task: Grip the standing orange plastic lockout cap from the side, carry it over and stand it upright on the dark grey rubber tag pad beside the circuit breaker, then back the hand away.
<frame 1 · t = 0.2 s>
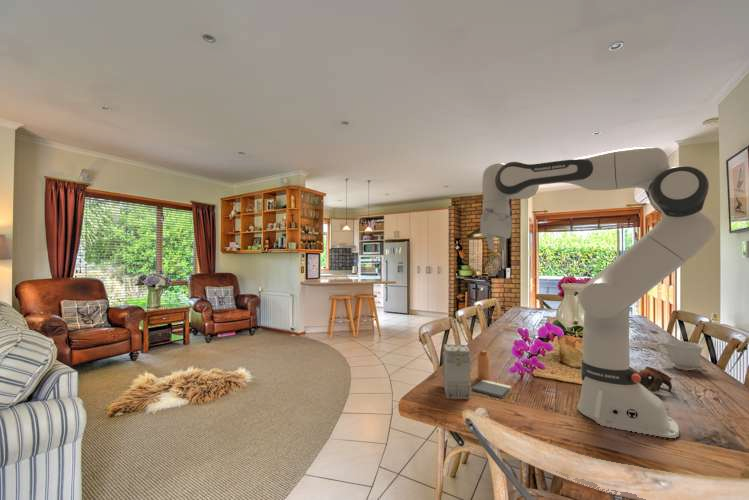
hand: (496, 250, 116), 48 cm above the table, tool pointing down, fingers open, 8 cm apart
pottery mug: (653, 390, 113), on the table
teacup: (679, 368, 136), on the table
lockout cap: (483, 378, 123), on the table
circuit breaker: (455, 390, 113), on the table
tag pad: (491, 389, 113), on the table
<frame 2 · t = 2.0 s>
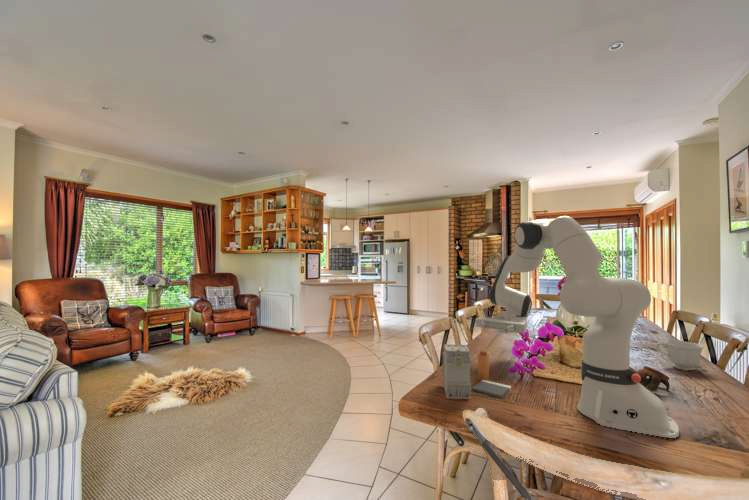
hand: (494, 327, 133), 17 cm above the table, tool horizontal, fingers open, 8 cm apart
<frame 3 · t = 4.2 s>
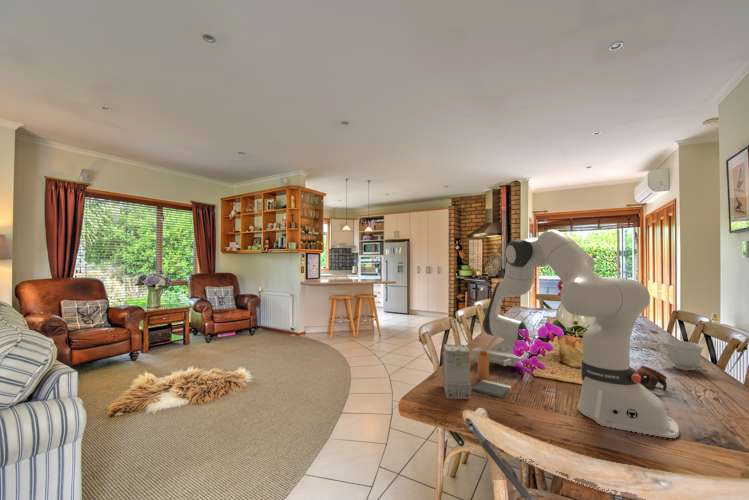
hand: (490, 361, 129), 5 cm above the table, tool horizontal, fingers open, 8 cm apart
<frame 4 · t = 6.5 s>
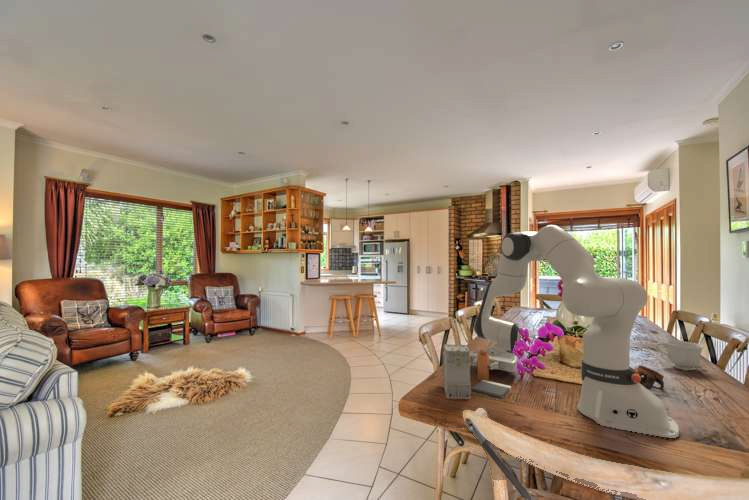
hand: (482, 365, 123), 5 cm above the table, tool horizontal, fingers closed on lockout cap, 4 cm apart
lockout cap: (483, 378, 123), on the table, touching gripper
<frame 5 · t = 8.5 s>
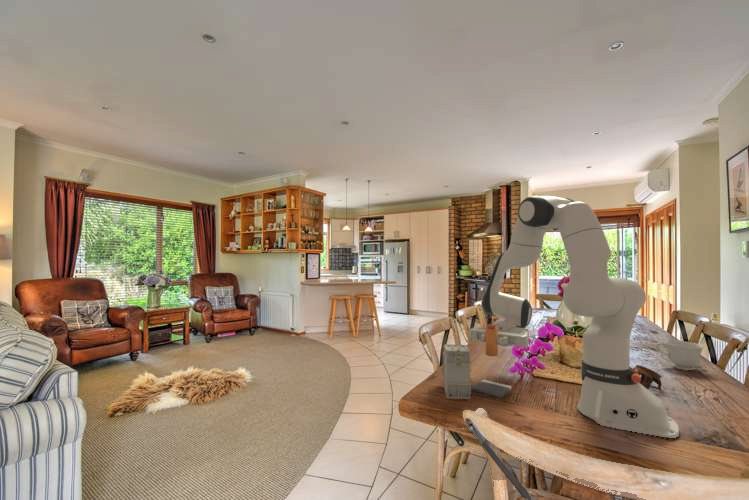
hand: (490, 340, 113), 17 cm above the table, tool horizontal, fingers closed on lockout cap, 4 cm apart
lockout cap: (491, 354, 114), point 12 cm above the table, touching gripper
when the fingers open (7 cm above the table, at t = 10.8 s): lockout cap drops 1 cm, resting on tag pad.
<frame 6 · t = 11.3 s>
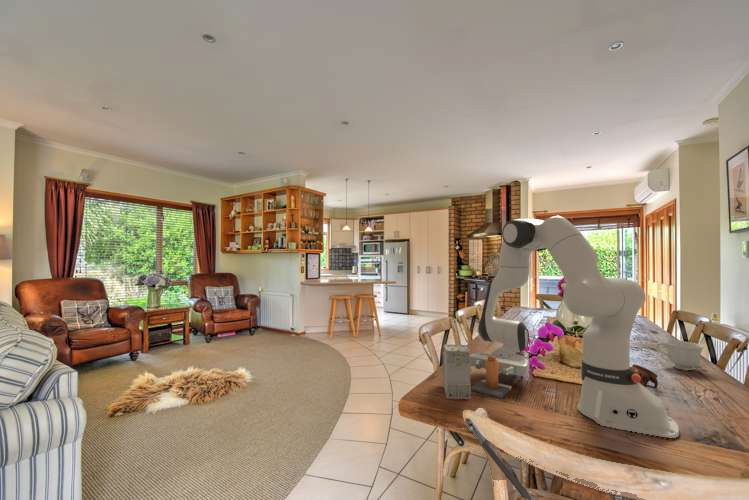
hand: (490, 369, 113), 7 cm above the table, tool horizontal, fingers open, 8 cm apart
lockout cap: (492, 387, 113), point 1 cm above the table, touching tag pad
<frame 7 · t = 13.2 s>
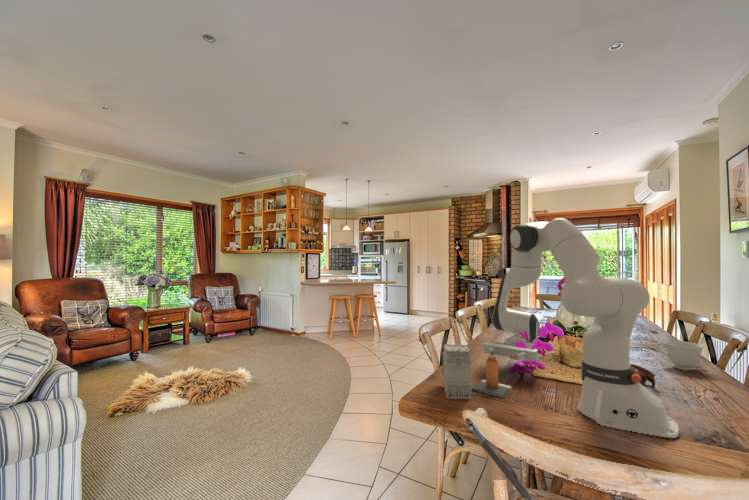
hand: (503, 355, 122), 9 cm above the table, tool horizontal, fingers open, 8 cm apart
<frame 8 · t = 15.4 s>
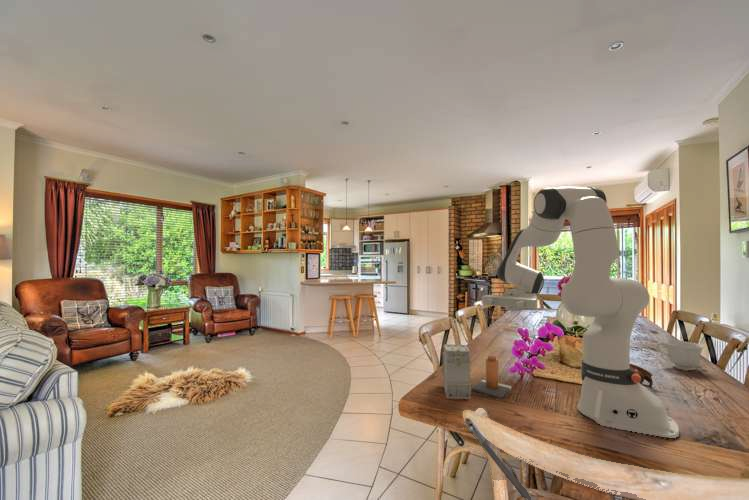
hand: (502, 303, 123), 28 cm above the table, tool horizontal, fingers open, 8 cm apart
at the end: lockout cap inside the target area on the tag pad (0.2 cm from its centre), point 0.8 cm above the tag pad's base; lockout cap tilted 0°; the gripper is holding nothing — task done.
